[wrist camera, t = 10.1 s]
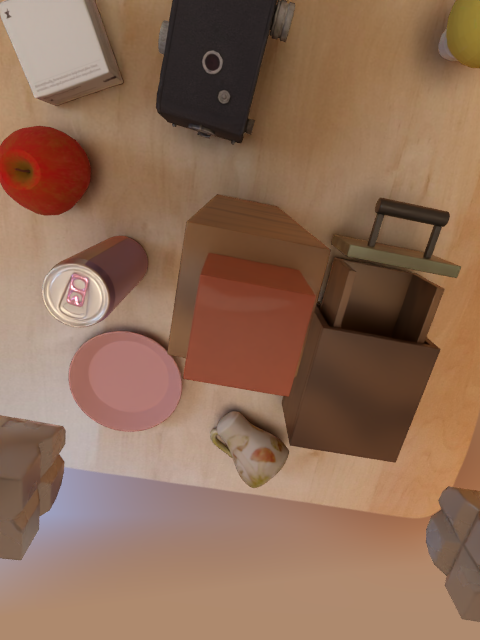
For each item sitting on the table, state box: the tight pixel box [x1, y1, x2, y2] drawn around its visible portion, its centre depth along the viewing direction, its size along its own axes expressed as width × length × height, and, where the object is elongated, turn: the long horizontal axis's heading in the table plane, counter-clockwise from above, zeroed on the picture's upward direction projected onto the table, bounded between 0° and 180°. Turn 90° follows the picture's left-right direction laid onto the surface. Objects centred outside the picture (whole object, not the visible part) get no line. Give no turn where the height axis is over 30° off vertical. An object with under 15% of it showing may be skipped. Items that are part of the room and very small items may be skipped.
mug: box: [210, 411, 289, 488], centre depth 53 cm, size 8×10×10 cm
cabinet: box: [282, 303, 440, 462], centre depth 48 cm, size 15×13×9 cm
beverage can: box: [42, 236, 148, 327], centre depth 41 cm, size 6×6×15 cm
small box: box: [0, 0, 123, 106], centre depth 38 cm, size 8×8×5 cm
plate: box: [69, 331, 182, 432], centre depth 52 cm, size 14×14×2 cm
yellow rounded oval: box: [438, 0, 480, 68], centre depth 36 cm, size 7×7×10 cm
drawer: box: [320, 198, 461, 344], centre depth 44 cm, size 18×11×7 cm, turn 169°
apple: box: [0, 126, 91, 215], centre depth 39 cm, size 8×8×11 cm
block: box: [183, 253, 316, 397], centre depth 18 cm, size 4×4×4 cm
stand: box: [167, 194, 331, 377], centre depth 33 cm, size 7×7×28 cm
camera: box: [156, 0, 295, 145], centre depth 36 cm, size 11×11×15 cm
